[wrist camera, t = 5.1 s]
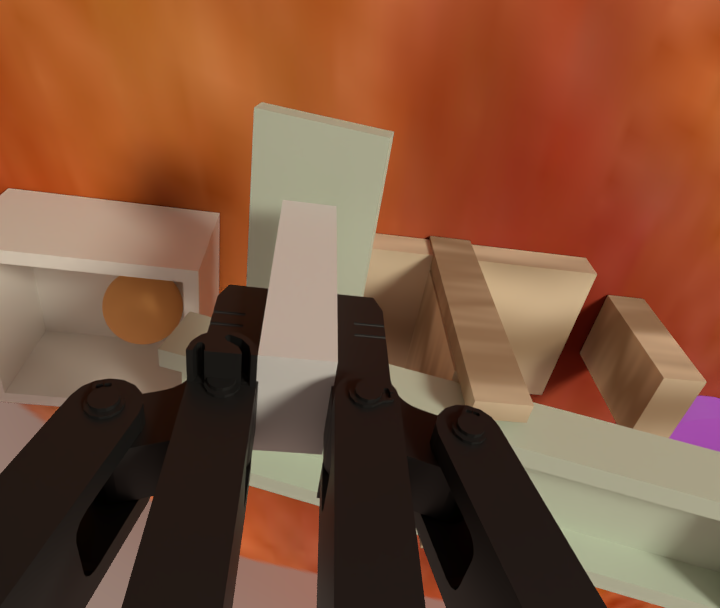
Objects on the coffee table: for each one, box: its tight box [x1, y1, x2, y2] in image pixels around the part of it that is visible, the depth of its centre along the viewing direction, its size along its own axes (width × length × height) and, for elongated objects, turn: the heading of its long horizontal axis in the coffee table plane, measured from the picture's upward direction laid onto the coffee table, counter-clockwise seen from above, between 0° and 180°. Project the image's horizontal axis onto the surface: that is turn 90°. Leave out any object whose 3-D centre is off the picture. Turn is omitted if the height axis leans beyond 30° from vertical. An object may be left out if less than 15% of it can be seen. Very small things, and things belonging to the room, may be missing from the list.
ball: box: [102, 276, 183, 344], centre depth 27 cm, size 4×4×4 cm
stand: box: [363, 233, 706, 548], centre depth 26 cm, size 8×18×11 cm, turn 82°
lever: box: [158, 102, 720, 608], centre depth 19 cm, size 14×23×3 cm, turn 82°
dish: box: [0, 188, 220, 406], centre depth 26 cm, size 8×9×5 cm
